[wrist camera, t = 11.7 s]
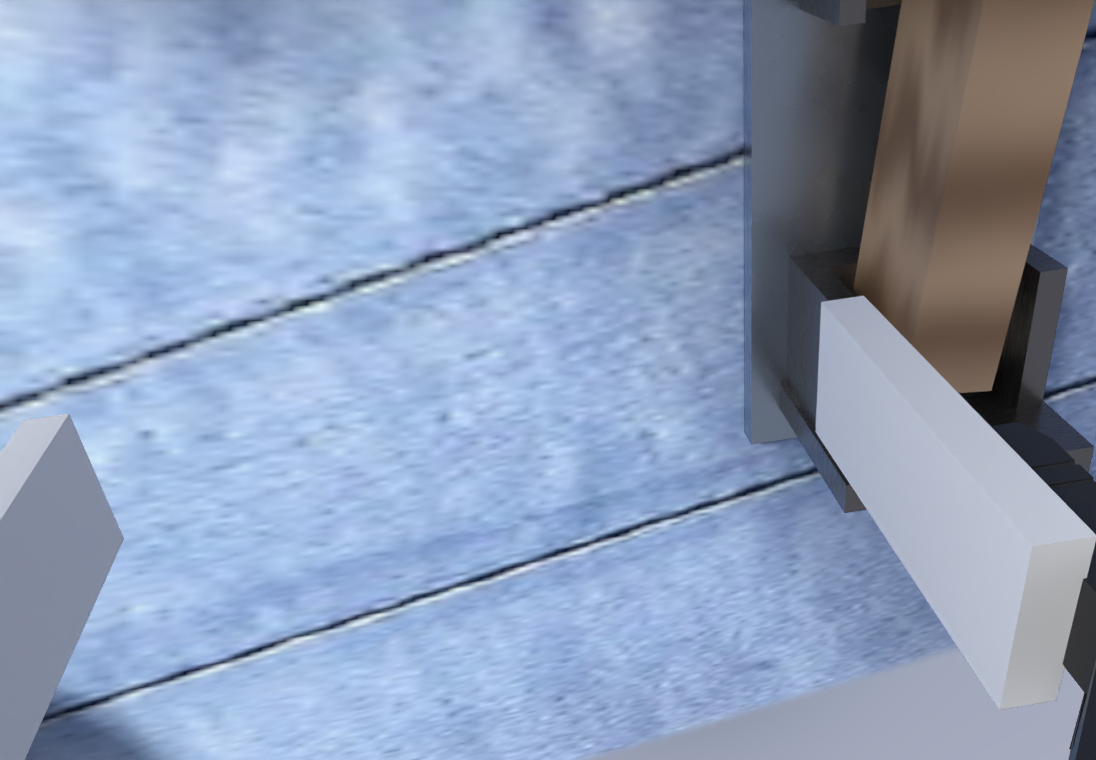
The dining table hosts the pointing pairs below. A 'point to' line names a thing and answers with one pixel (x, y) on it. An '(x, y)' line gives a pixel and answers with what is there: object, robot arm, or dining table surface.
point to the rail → (965, 171)
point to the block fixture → (843, 224)
